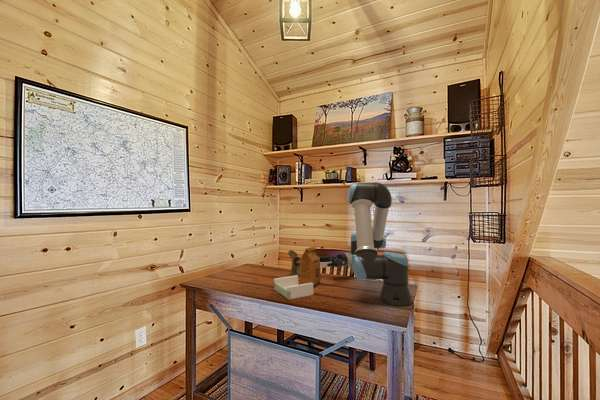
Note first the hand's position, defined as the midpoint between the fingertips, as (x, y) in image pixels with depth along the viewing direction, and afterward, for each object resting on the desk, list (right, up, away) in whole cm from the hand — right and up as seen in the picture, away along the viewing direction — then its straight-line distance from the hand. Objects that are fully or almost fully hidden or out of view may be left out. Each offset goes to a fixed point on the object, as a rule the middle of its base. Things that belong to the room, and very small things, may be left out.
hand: (315, 263), depth 168 cm
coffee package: (-3, -12, -3) cm, 13 cm away
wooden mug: (-12, -12, +16) cm, 24 cm away
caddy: (-13, -12, -16) cm, 24 cm away
